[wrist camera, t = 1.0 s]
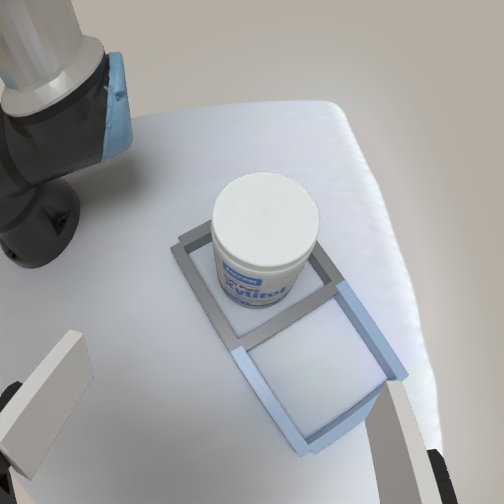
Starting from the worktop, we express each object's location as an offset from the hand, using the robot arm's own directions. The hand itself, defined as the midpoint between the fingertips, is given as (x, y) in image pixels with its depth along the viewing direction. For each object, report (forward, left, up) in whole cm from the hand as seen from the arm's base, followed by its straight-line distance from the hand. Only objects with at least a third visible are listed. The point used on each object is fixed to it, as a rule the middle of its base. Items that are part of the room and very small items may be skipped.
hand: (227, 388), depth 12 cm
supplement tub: (-10, +9, -25) cm, 28 cm away
